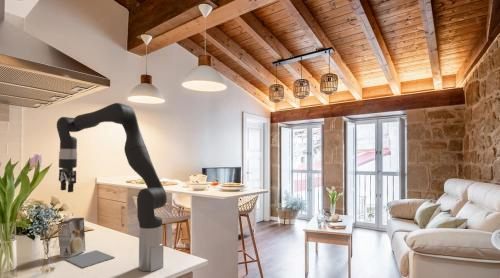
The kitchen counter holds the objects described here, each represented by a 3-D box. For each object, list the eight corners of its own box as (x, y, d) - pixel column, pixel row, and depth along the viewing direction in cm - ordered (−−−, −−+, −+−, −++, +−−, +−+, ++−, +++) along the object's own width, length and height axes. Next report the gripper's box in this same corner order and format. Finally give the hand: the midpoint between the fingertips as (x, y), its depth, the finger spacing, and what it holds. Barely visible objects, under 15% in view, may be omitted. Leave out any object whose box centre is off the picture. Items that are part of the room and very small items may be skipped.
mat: (114, 258, 134) (114, 257, 134) (82, 268, 122) (82, 267, 122) (96, 250, 143) (96, 250, 143) (65, 259, 132) (65, 259, 132)
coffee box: (74, 250, 143) (73, 217, 144) (85, 250, 142) (84, 217, 143) (58, 257, 134) (57, 222, 135) (70, 257, 133) (69, 221, 134)
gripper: (82, 158, 143) (81, 192, 143) (70, 157, 152) (69, 188, 152) (65, 158, 137) (64, 193, 137) (53, 157, 146) (52, 190, 146)
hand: (66, 191), depth 144 cm, fingers open, 8 cm apart
